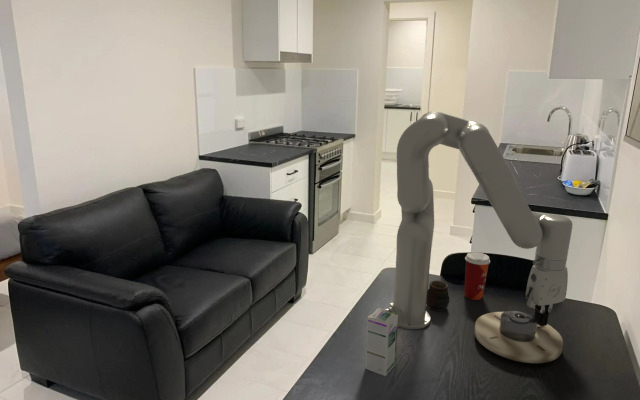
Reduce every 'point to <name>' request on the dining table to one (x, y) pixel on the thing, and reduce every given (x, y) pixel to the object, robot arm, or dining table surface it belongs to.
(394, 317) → the syrup box
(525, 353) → the turntable
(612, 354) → the dining table surface
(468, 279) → the paper cup
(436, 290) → the mate gourd
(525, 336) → the cover
